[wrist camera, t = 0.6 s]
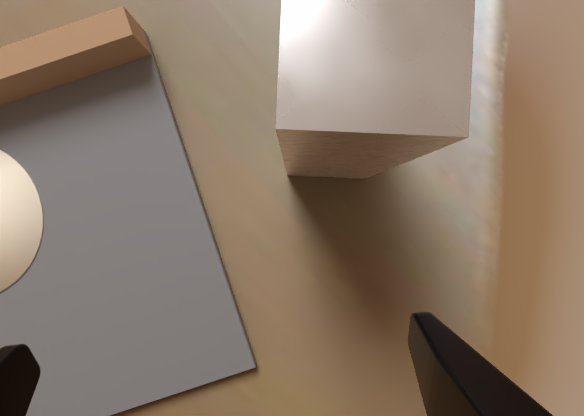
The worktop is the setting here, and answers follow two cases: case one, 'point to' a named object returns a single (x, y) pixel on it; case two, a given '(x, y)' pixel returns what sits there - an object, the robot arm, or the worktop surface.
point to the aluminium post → (371, 83)
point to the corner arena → (105, 227)
